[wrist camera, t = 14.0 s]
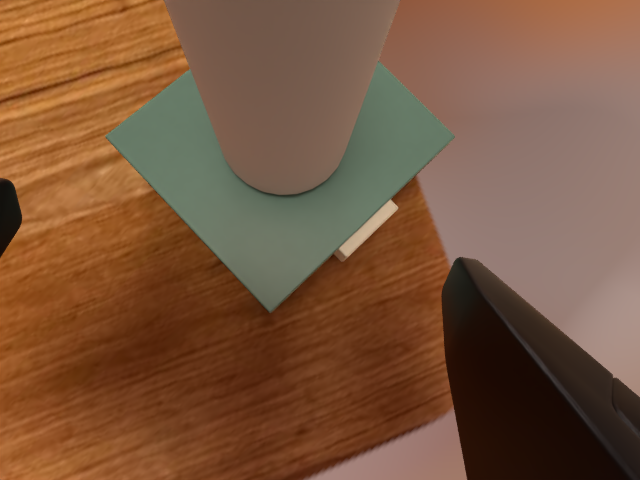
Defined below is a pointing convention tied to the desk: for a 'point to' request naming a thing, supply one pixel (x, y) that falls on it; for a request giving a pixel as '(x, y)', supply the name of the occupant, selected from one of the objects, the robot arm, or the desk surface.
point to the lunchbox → (271, 209)
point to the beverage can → (282, 80)
